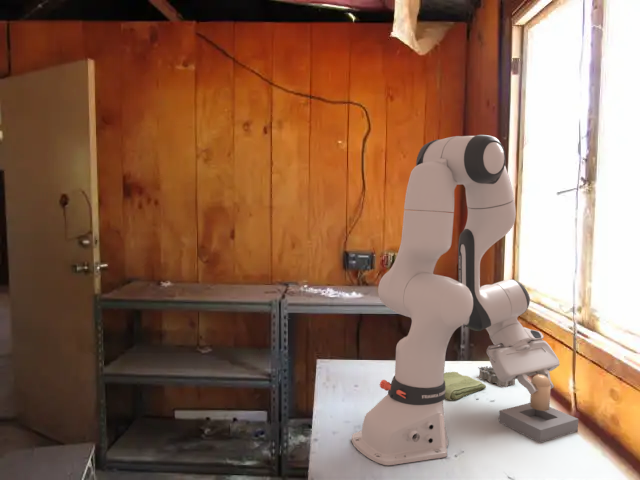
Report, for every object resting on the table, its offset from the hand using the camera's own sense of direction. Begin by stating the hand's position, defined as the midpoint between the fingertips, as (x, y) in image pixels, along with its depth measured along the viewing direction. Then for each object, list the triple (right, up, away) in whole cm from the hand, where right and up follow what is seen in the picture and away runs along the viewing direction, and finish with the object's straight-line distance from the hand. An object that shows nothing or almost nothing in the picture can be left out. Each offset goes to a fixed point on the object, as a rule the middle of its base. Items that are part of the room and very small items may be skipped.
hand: (542, 390), depth 122 cm
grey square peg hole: (-1, -9, +1) cm, 9 cm away
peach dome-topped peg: (0, -4, +1) cm, 4 cm away
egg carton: (0, -7, +33) cm, 34 cm away
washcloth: (-16, -8, +26) cm, 31 cm away
